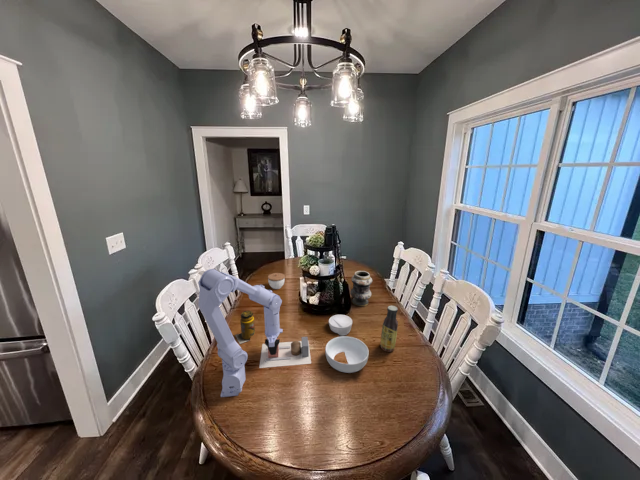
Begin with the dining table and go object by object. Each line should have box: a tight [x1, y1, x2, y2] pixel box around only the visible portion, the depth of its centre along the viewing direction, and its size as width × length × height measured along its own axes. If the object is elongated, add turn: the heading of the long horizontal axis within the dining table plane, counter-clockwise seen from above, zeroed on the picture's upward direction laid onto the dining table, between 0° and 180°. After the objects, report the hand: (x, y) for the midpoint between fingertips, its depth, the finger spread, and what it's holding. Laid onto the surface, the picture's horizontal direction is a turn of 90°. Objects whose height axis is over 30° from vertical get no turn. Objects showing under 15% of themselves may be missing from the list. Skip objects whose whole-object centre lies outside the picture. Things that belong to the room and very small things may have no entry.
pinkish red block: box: [268, 337, 279, 358], centre depth 105 cm, size 4×4×6 cm
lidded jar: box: [267, 272, 286, 290], centre depth 167 cm, size 11×11×9 cm
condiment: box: [234, 310, 256, 345], centre depth 117 cm, size 7×8×12 cm
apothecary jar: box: [349, 270, 373, 307], centre depth 148 cm, size 12×12×18 cm
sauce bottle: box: [380, 305, 399, 353], centre depth 109 cm, size 7×6×20 cm
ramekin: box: [328, 314, 353, 337], centre depth 123 cm, size 11×11×5 cm
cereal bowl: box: [324, 335, 370, 374], centre depth 102 cm, size 17×17×7 cm
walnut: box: [291, 340, 301, 356], centre depth 106 cm, size 4×4×4 cm
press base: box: [258, 336, 312, 369], centre depth 106 cm, size 14×20×6 cm
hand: (273, 350), depth 105 cm, fingers closed on pinkish red block, 4 cm apart
